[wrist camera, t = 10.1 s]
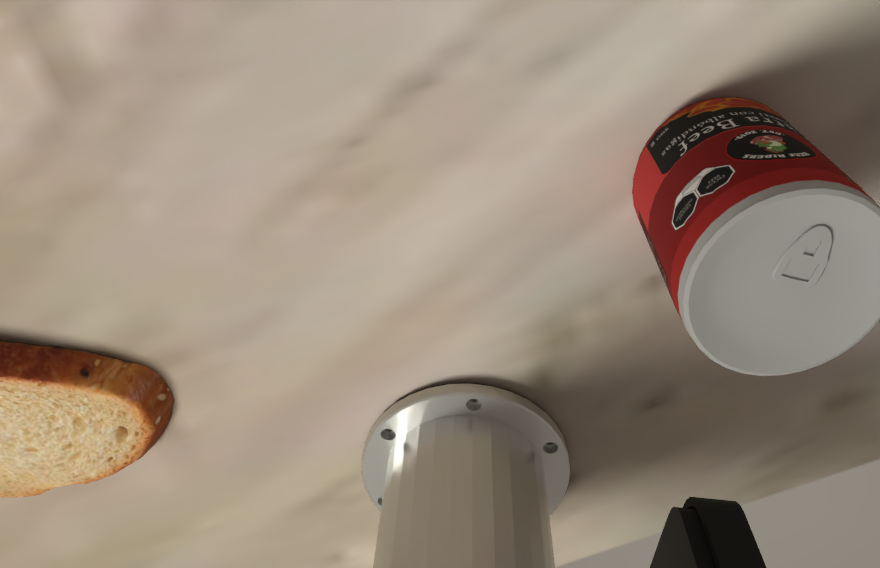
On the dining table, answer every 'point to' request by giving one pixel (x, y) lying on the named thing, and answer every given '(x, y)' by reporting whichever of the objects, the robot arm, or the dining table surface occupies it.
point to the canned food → (758, 238)
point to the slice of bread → (73, 416)
